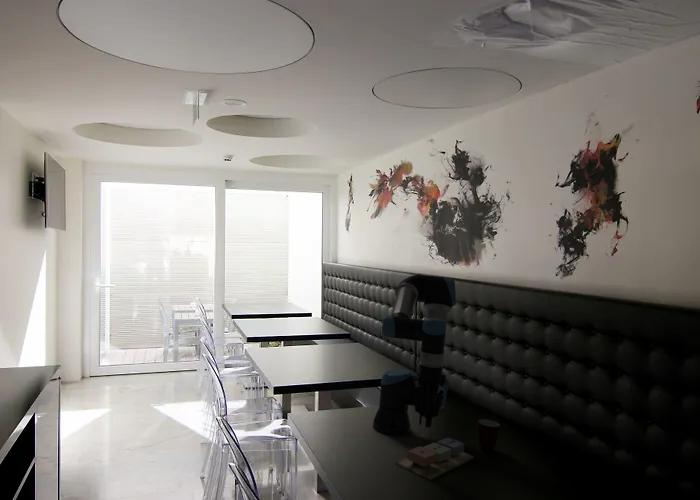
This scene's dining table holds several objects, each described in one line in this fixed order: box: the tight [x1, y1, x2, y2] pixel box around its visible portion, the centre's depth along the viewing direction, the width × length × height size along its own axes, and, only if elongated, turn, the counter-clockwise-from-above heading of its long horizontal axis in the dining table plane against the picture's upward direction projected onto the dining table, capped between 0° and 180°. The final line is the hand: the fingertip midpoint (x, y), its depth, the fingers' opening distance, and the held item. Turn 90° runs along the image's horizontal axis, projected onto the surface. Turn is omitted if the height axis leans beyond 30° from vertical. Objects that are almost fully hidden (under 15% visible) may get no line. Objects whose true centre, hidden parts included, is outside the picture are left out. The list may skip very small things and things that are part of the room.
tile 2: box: [422, 442, 451, 462], centre depth 173 cm, size 7×7×3 cm
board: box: [395, 451, 475, 481], centre depth 173 cm, size 14×28×3 cm, turn 137°
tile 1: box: [406, 445, 437, 467], centre depth 166 cm, size 7×7×3 cm
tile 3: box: [437, 436, 465, 456], centre depth 180 cm, size 7×7×3 cm
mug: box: [476, 418, 501, 452], centre depth 187 cm, size 10×8×10 cm
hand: (424, 435), depth 166 cm, fingers closed
